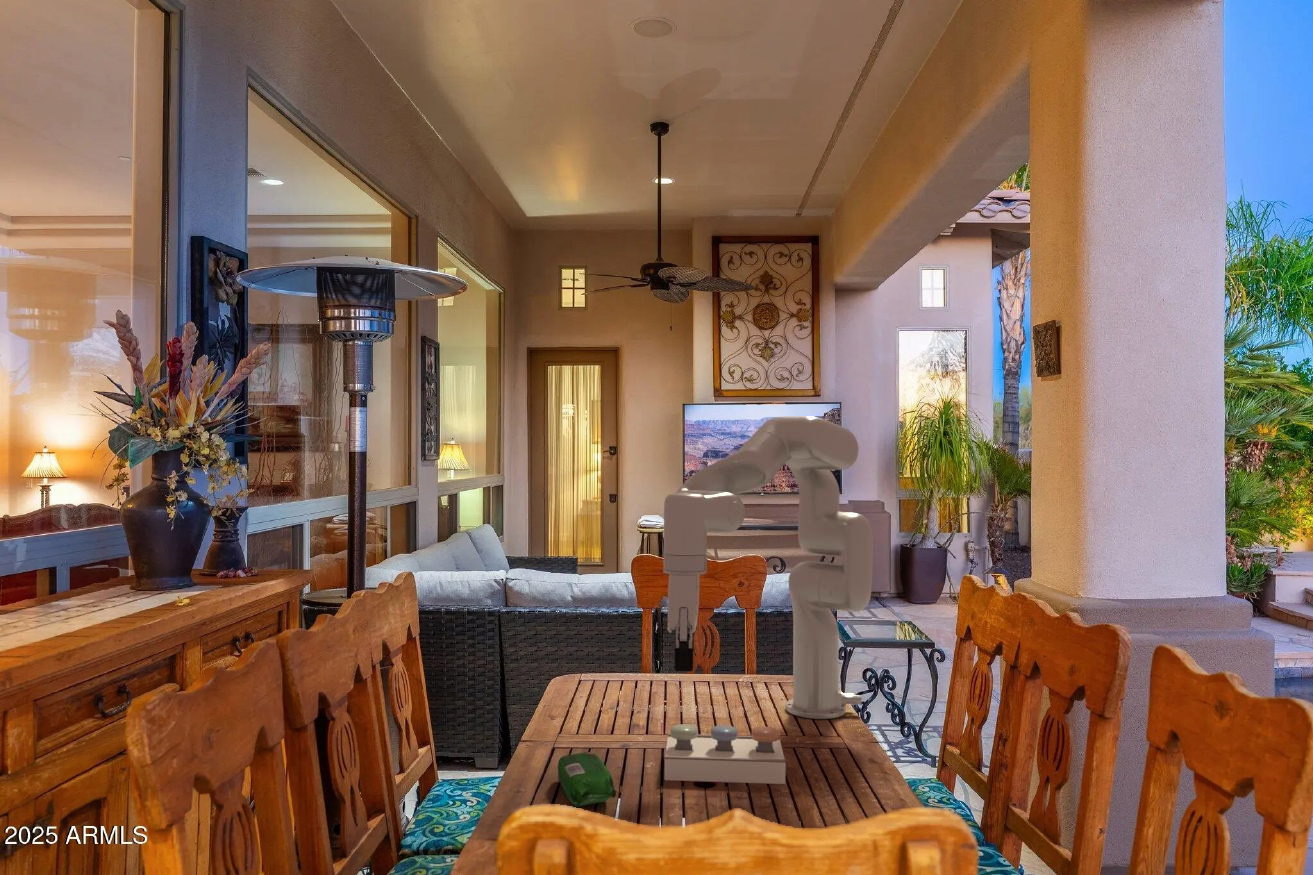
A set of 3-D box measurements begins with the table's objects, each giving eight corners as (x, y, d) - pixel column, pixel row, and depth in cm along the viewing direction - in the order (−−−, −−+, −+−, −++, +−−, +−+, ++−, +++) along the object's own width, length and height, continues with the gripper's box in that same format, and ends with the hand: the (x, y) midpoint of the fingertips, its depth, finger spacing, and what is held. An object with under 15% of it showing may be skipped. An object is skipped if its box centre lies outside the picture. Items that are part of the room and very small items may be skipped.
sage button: (697, 745, 149) (697, 724, 149) (696, 754, 144) (696, 733, 144) (671, 744, 149) (671, 723, 149) (669, 753, 145) (670, 732, 145)
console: (779, 758, 152) (779, 736, 152) (785, 783, 140) (785, 760, 140) (668, 754, 153) (668, 733, 153) (664, 780, 141) (664, 757, 141)
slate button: (737, 746, 148) (737, 725, 149) (738, 755, 144) (738, 734, 144) (710, 745, 149) (710, 725, 149) (710, 754, 144) (711, 733, 144)
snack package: (571, 819, 126) (572, 783, 126) (553, 779, 141) (554, 748, 141) (618, 814, 128) (618, 779, 128) (595, 775, 143) (596, 744, 143)
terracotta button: (777, 747, 148) (777, 726, 148) (779, 756, 143) (779, 735, 143) (750, 746, 148) (750, 726, 148) (752, 756, 144) (752, 734, 144)
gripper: (665, 558, 155) (664, 659, 155) (661, 569, 140) (659, 680, 140) (706, 559, 155) (705, 660, 154) (706, 570, 140) (705, 682, 139)
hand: (683, 669), depth 147 cm, fingers closed
